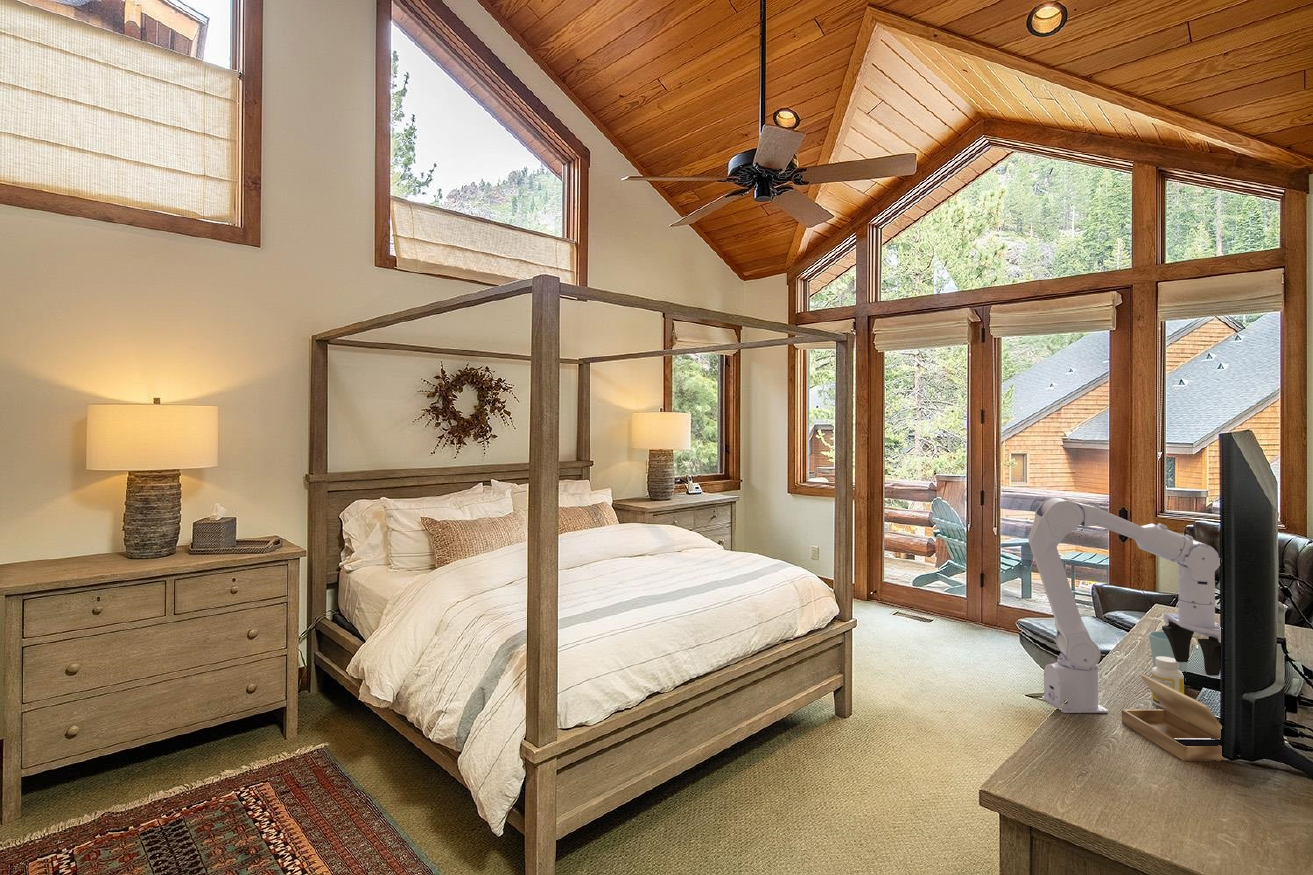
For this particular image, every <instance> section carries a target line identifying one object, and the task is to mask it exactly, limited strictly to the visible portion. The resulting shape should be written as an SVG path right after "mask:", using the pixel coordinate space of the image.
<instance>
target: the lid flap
mask: <svg viewBox="0 0 1313 875" xmlns="http://www.w3.org/2000/svg"><path fill="white" fill-rule="evenodd" d="M1139 676H1140V677H1141V679H1142V680H1143V682H1144V683H1145V684H1146V686H1147V687H1148V688H1149V690H1150V691H1151V694H1152V693H1153V694H1154V695H1155V697H1156V698H1157V700H1158V701H1159V702H1160V704H1161V705H1162V706H1163V709H1165V710H1167V711H1168V712H1170V713H1172V714H1174V715H1176V716H1178V717H1179V718H1181V719H1183V720H1185V721H1187V722H1189V723H1190V724H1192V725H1194V726H1196V727H1198V728H1200V729H1201V730H1203V731H1205V732H1207V733H1209V734H1211V735H1212V736H1214V737H1216V738H1218V739H1220V738H1221V729H1222V727H1223V726H1222V724H1221V723H1220V721H1219V720H1218V719H1217V717H1216V716H1215V715H1214V713H1213V712H1212V711H1211V709H1210V707H1209V706H1208V705H1207V704H1205V703H1202V702H1200V701H1199V700H1197V699H1194V698H1193V697H1190V696H1188V695H1186V694H1185V693H1184V694H1182V693H1180V692H1178V691H1176V690H1174V689H1172V688H1170V687H1168V686H1166V685H1164V684H1162V683H1160V682H1158V681H1156V680H1154V679H1152V677H1150V676H1148V675H1146V674H1144V673H1143V672H1142V673H1140V674H1139Z"/></svg>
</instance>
